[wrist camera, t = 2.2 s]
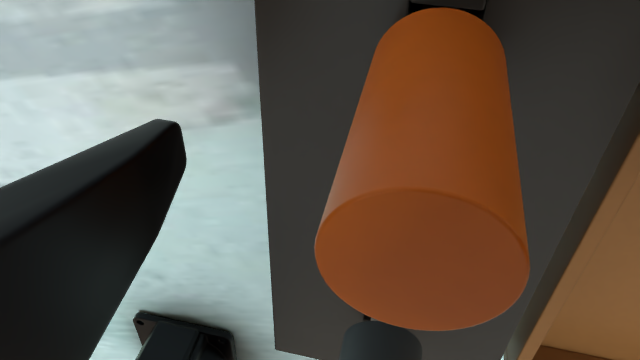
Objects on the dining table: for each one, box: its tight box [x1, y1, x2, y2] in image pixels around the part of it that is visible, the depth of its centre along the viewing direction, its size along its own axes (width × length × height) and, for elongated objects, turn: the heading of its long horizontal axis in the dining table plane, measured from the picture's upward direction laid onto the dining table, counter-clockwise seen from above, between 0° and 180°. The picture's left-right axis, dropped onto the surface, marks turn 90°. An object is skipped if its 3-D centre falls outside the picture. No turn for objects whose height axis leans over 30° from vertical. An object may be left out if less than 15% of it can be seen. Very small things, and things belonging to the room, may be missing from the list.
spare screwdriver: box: [339, 318, 422, 360], centre depth 19 cm, size 3×3×11 cm
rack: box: [254, 0, 640, 360], centre depth 18 cm, size 10×21×4 cm, turn 179°
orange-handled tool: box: [314, 4, 530, 331], centre depth 11 cm, size 3×3×11 cm
